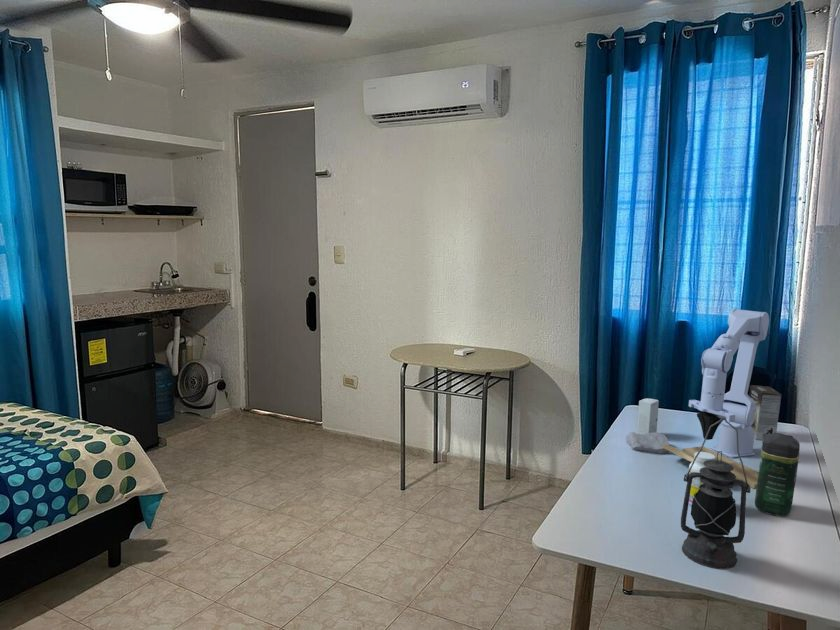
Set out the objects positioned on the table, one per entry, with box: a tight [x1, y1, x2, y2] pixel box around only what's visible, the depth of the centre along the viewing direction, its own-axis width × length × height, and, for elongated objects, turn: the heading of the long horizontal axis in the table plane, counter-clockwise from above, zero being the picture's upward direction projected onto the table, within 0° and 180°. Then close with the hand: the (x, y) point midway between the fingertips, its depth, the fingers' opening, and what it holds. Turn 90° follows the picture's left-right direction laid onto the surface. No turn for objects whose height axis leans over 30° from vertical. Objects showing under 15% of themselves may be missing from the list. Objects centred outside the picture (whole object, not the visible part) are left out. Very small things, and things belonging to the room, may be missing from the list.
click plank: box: [663, 444, 743, 481], centre depth 169 cm, size 10×20×1 cm, turn 20°
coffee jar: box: [754, 432, 801, 517], centre depth 146 cm, size 10×8×19 cm
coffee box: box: [748, 384, 782, 441], centre depth 199 cm, size 9×6×16 cm
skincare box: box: [636, 397, 660, 434], centre depth 196 cm, size 6×4×12 cm
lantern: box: [680, 418, 752, 570], centre depth 124 cm, size 12×11×30 cm
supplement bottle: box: [688, 452, 715, 506], centre depth 148 cm, size 7×7×13 cm
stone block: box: [625, 431, 671, 455], centre depth 186 cm, size 12×5×10 cm
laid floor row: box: [681, 445, 759, 489], centre depth 172 cm, size 8×26×1 cm, turn 19°
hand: (708, 438), depth 168 cm, fingers closed
